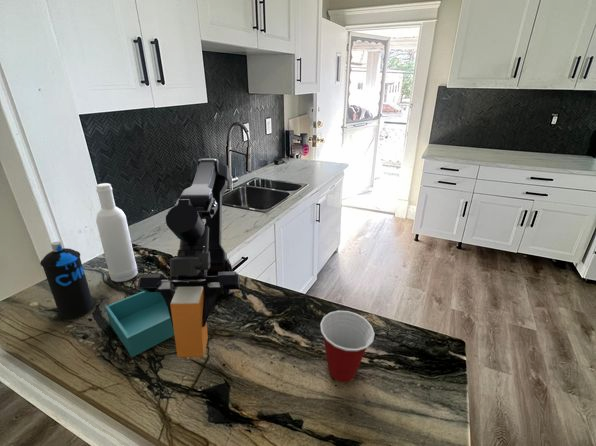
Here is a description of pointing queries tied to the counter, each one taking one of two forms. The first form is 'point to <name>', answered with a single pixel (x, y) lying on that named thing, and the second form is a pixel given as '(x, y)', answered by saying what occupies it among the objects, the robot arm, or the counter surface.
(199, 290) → the drink carton
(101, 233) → the bottle
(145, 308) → the bin
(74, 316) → the aerosol can
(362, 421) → the counter surface
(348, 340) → the plastic cup
